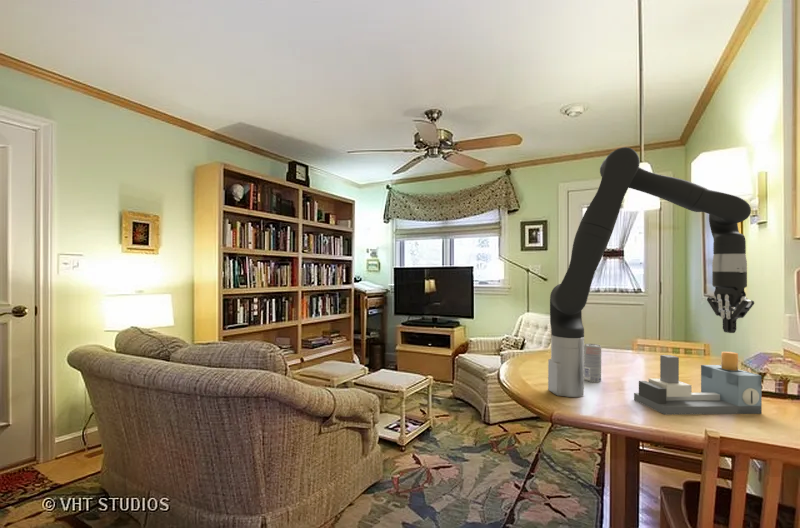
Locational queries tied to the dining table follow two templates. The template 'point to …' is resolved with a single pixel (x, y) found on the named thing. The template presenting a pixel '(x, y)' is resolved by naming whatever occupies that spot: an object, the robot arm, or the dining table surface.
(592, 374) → the energy drink
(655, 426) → the dining table surface
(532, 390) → the dining table surface
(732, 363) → the button
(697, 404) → the rail track
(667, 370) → the carriage
